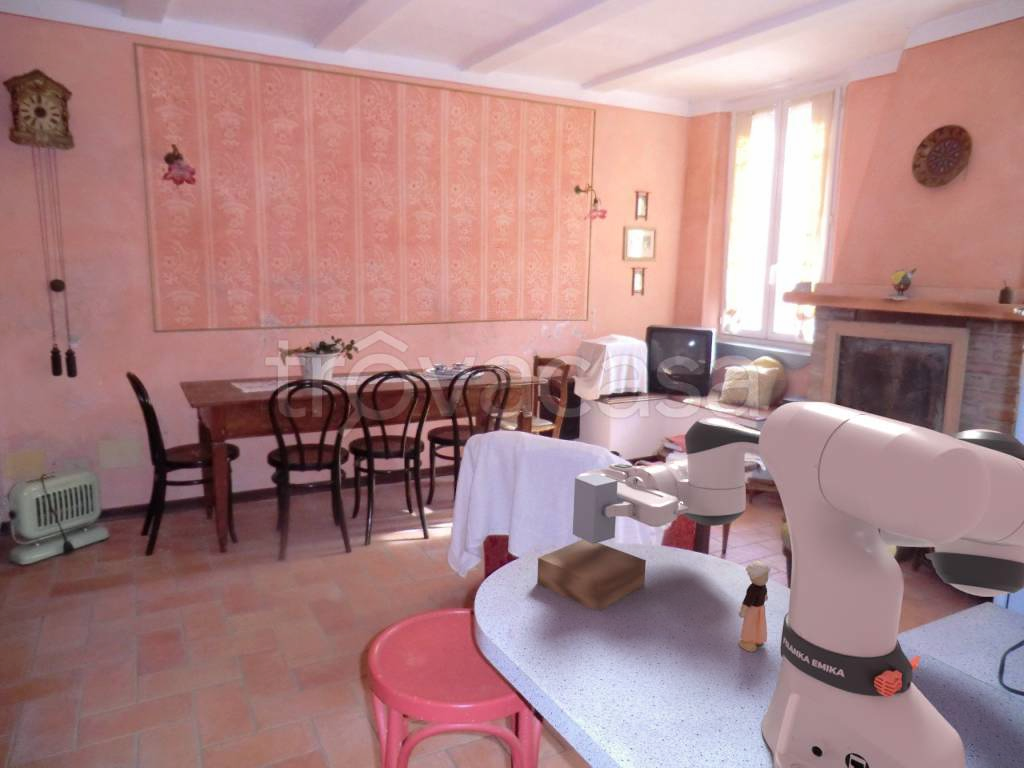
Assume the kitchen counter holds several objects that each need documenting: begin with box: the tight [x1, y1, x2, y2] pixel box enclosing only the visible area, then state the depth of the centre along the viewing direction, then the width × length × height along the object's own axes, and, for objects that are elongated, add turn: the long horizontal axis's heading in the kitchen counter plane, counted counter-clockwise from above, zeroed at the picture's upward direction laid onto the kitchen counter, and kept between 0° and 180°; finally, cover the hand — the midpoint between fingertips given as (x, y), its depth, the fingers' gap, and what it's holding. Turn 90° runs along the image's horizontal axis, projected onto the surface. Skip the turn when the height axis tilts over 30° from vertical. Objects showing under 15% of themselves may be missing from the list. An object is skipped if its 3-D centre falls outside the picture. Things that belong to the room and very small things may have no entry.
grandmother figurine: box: [737, 560, 771, 653], centre depth 100 cm, size 8×4×13 cm, turn 147°
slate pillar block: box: [572, 473, 618, 544], centre depth 116 cm, size 5×5×10 cm
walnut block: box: [536, 539, 647, 612], centre depth 117 cm, size 13×13×5 cm
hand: (590, 505), depth 115 cm, fingers closed on slate pillar block, 5 cm apart
